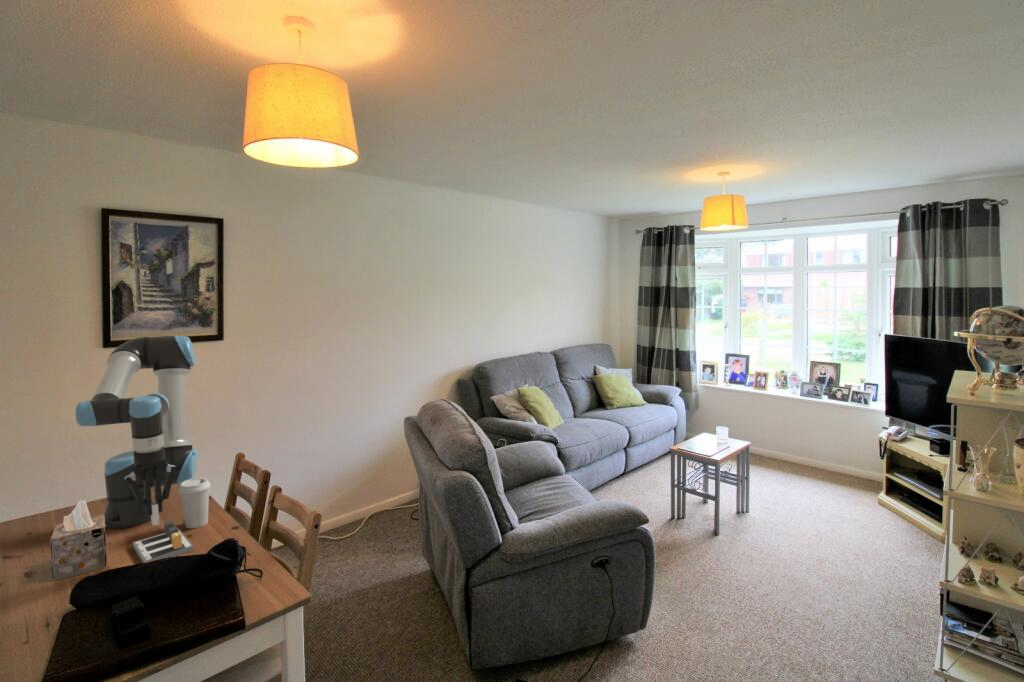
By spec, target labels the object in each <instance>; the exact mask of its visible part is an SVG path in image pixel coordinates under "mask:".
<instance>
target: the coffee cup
mask: <svg viewBox="0 0 1024 682" xmlns="http://www.w3.org/2000/svg"><path fill="white" fill-rule="evenodd" d="M211 485H212V484H211V483H210V481H209V479H208V478H207V477H194V478H193V479H189V480H186V481H184V482H182V483H180V484H179V487H178V488H177V493H179V495H180V502H181V508H182V511H183V518H184V524H185V528H187V529H198V528H202V527H203V526H206V525H207V524H208V522H209V501H210V500H209V499H210V487H211Z"/></svg>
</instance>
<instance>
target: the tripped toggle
mask: <svg viewBox="0 0 1024 682" xmlns="http://www.w3.org/2000/svg"><path fill="white" fill-rule="evenodd" d="M171 538H172V547H173V548H174V549H178V548H181V547H182V540H181V534H180V533H179V532H177V533H174V534H171Z"/></svg>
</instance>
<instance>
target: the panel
mask: <svg viewBox="0 0 1024 682" xmlns="http://www.w3.org/2000/svg"><path fill="white" fill-rule="evenodd" d="M163 523H164V533H160V534H157V535H153V536H150V537H145V538H143V539H140V540H137V541H136V540H135V541H133V542H132V547H133V550H134V551H135V553H136V554H137V556H138V557H139V559H140V561H141V563H142V564H143V563H147V562H151V561H154V560H158V559H162V558H168V557H172V558H175V557H178V556H180V555H184V554H187V553H190V552H193V551H194V545H193V544H192V543H191V541H190V540H189V538H188V537H186V535H185V534H184V533H183V532H182V531H181V530H180V528H178V527H177V526H176V525H175V526H174V522H173V521H172V520H169V521H165V522H163ZM177 532H179V533H180V534H181V540H182V547H181V548H178V549H174V548H173V547H172V538H171V534H174V533H177Z"/></svg>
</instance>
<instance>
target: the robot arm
mask: <svg viewBox="0 0 1024 682" xmlns="http://www.w3.org/2000/svg"><path fill="white" fill-rule="evenodd" d="M106 365H107V368H106V370H105V372H104V374H103V376H102V378H101V380H100V382H99V385H98V386H97V388H96V390H95V393H94V394H93V396H92V398H91V400H85V401H80V402H78V403H77V405H76V406H75V413H74V415H75V419H76V420H75V421H76V423H77V424H78V426H80V427H97V426H106V425H107V426H108V425H117V424H130V429H131V438H132V439H131V441H132V450H131V451H126V452H122V453H120V454H116V455H114V456H113V457H112V456H111V457H110V458H108V460H106V462H105V463H104V478H105V479H104V480H105V490H106V499H107V501H106V506H105V509H104V511H103V515H104V516H105V524H106V528H105V529H110V530H111V529H112V530H116V529H117V530H118V529H126V528H130V527H134V526H137V525H141V524H143V523H145V522H148V521H151V525H152V526H153V527H154V526H159V525H161V524H160V515H159V514H160V513H162V512H163V502H164V500H168V499H169V498H170V493H171V488H172V485H180V484H181V483H182V482H184V481H186V480H189V479H193V478H195V475H196V471H197V470H196V469H197V467H198V466H197V465H198V449H196V448H193V443H191V442H190V441H189V440H188V417H187V416H188V415H187V414H188V413H187V412H188V411H187V407H188V405H187V376H188V374H190V372H191V368H192V367H195V366H196V357H195V352H194V347H193V343H192V341H191V338H190V337H188V336H185V335H163V336H140V337H135V338H133V339H130V340H127V341H124V343H122V344H120V345H119V346H117V347H116V348H115V349H114V350H113V351H111V353H110V354H109V356H108V358H107V359H106ZM144 369H147V370H149V369H152V373H153V374H154V375H155V376H156V377H157V381H158V383H157V390H158V392H156V393H155V392H154V393H150V394H147V395H143V396H142V395H140V396H137V397H127V398H125V396H126V394H127V391H128V389H129V386H130V385H131V382H132V379H133V377H134V375H135V374H136V373H137V372H139V370H144ZM162 487H163V489H162ZM151 488H154V499H155V500H153V499H152V492H151V491H152V489H151Z"/></svg>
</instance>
